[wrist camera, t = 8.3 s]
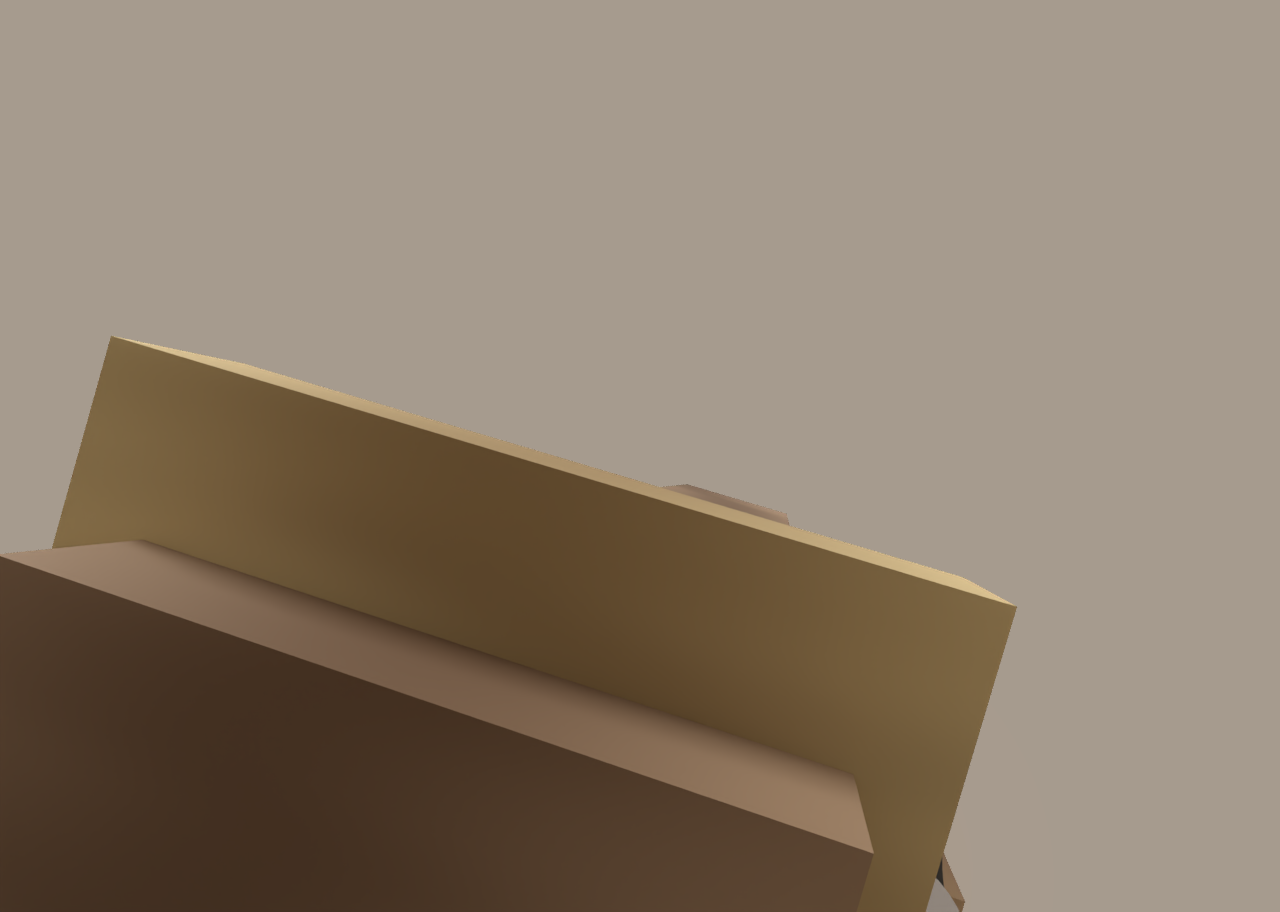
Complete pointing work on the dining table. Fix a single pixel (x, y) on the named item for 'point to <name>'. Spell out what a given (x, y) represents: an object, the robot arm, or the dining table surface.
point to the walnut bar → (457, 676)
